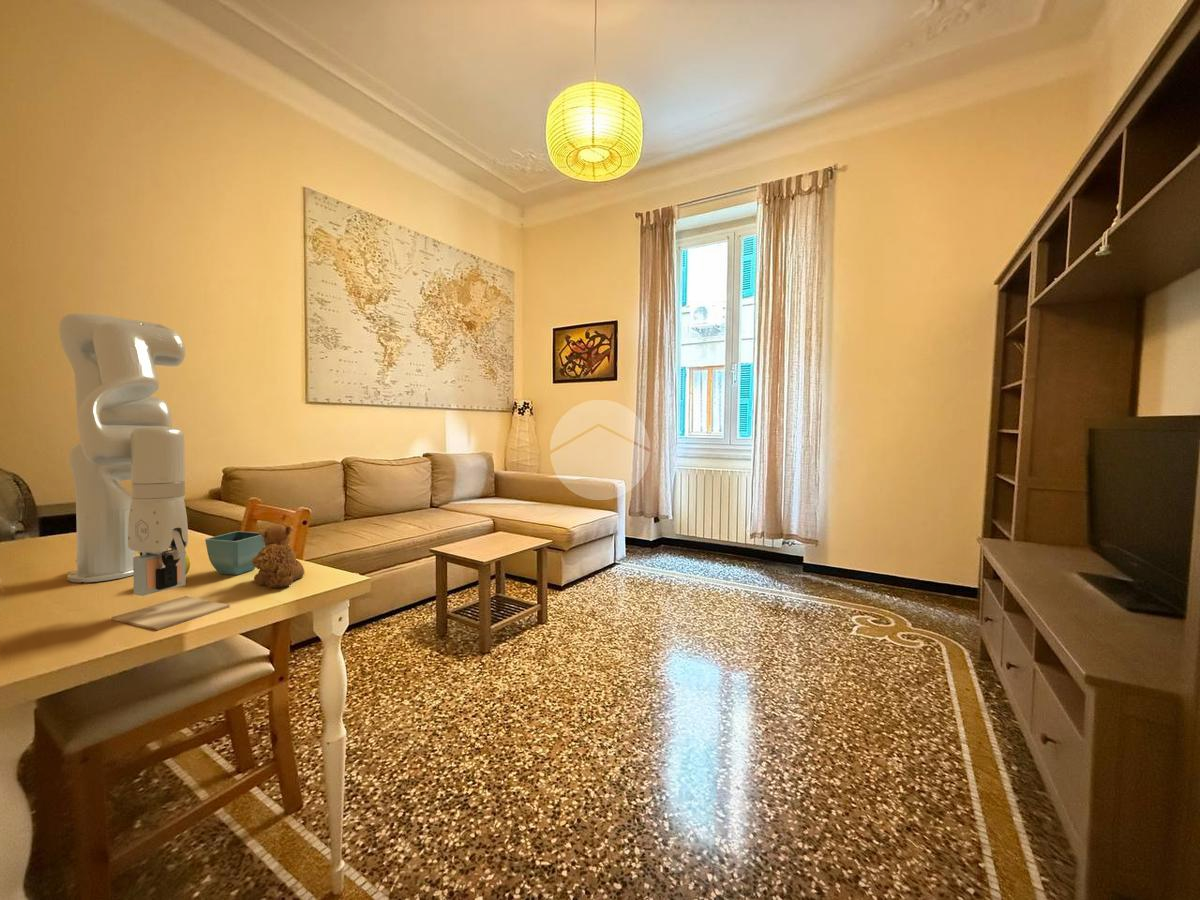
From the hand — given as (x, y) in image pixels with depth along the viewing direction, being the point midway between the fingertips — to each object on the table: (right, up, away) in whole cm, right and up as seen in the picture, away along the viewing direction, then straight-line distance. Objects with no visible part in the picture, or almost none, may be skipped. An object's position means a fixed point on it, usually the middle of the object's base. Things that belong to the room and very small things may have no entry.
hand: (160, 585), depth 92 cm
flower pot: (-4, -4, +25) cm, 26 cm away
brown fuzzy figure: (+11, -5, +18) cm, 21 cm away
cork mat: (+3, -5, -1) cm, 6 cm away
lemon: (-12, -4, +16) cm, 20 cm away
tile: (0, -1, 0) cm, 1 cm away
